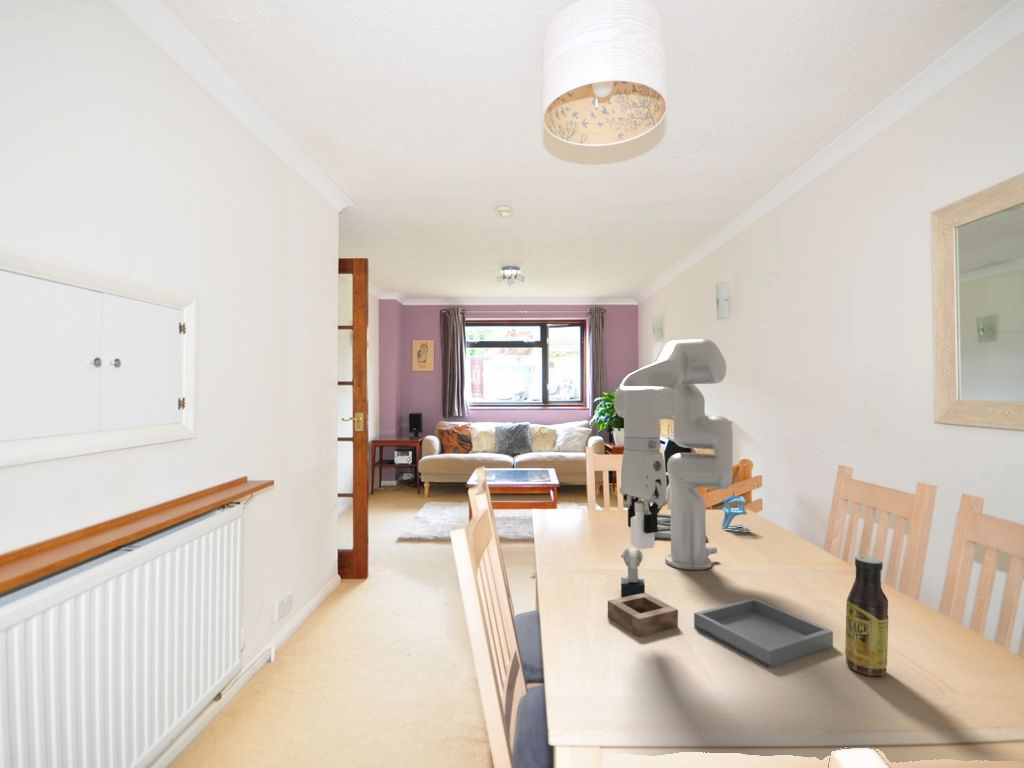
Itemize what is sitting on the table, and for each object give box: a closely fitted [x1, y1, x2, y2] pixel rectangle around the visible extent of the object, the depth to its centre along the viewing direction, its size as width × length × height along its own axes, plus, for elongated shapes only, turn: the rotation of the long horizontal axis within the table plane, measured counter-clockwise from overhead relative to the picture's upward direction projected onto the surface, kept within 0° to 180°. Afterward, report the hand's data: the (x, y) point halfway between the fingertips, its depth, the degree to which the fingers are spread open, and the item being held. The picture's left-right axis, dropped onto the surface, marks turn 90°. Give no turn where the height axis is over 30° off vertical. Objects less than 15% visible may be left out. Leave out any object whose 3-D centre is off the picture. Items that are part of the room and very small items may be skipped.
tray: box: [693, 597, 834, 669], centre depth 106 cm, size 18×18×3 cm
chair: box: [721, 495, 751, 532], centre depth 188 cm, size 8×8×12 cm
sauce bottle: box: [844, 555, 889, 677], centre depth 94 cm, size 7×6×20 cm
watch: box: [620, 547, 646, 598], centre depth 128 cm, size 6×8×11 cm
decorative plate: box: [654, 513, 709, 541], centre depth 189 cm, size 30×22×7 cm
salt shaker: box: [630, 500, 655, 550], centre depth 114 cm, size 4×4×10 cm
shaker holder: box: [607, 592, 679, 637], centre depth 113 cm, size 10×10×4 cm
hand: (642, 528), depth 114 cm, fingers closed on salt shaker, 4 cm apart
